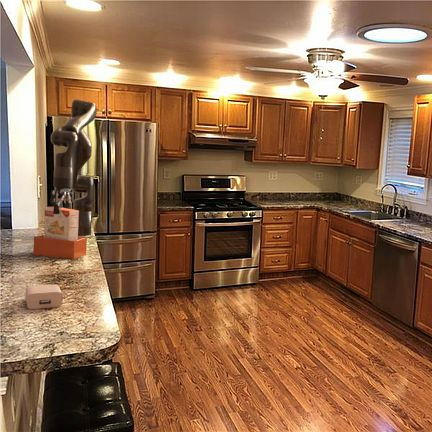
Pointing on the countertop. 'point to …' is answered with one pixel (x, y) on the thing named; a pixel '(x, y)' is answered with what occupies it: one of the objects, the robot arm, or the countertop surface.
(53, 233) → the cracker box
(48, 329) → the countertop surface
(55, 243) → the holder
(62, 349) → the countertop surface
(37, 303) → the charger
